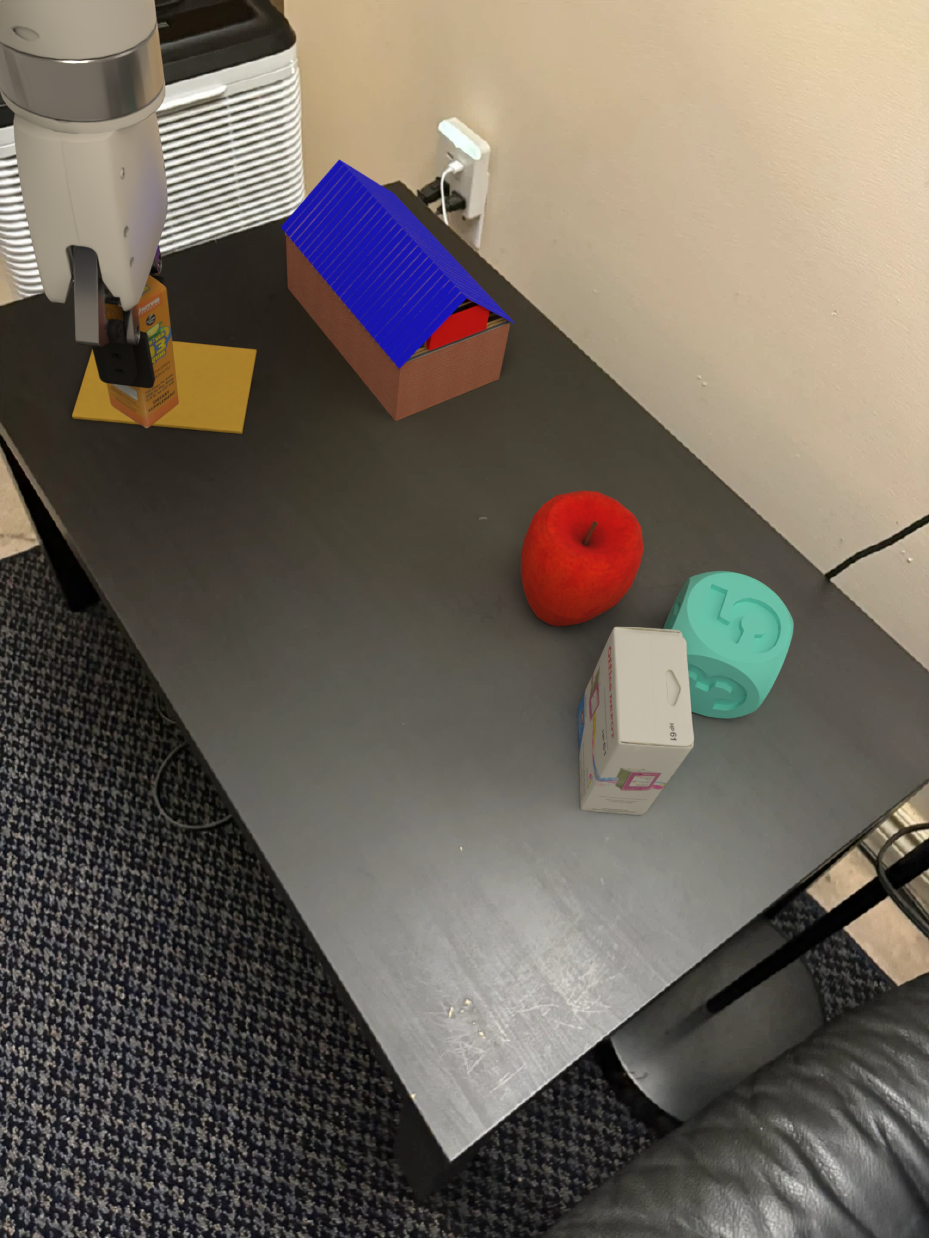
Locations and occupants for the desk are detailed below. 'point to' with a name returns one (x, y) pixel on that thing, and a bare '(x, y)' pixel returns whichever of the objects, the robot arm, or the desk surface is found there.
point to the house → (391, 295)
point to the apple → (579, 557)
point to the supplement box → (164, 393)
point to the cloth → (186, 390)
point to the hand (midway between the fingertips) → (136, 352)
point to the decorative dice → (730, 641)
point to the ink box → (634, 720)
